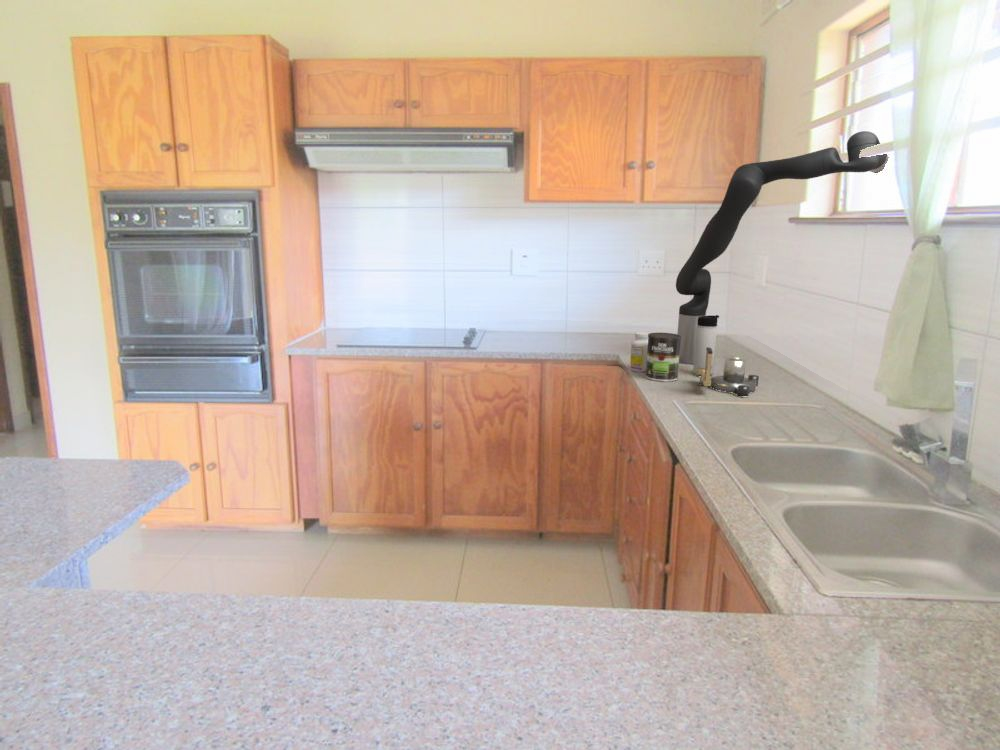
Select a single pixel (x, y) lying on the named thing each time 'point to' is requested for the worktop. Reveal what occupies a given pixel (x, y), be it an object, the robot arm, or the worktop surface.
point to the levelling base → (731, 386)
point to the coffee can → (663, 356)
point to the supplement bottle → (639, 352)
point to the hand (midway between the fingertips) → (891, 164)
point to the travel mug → (705, 341)
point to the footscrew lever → (706, 369)
